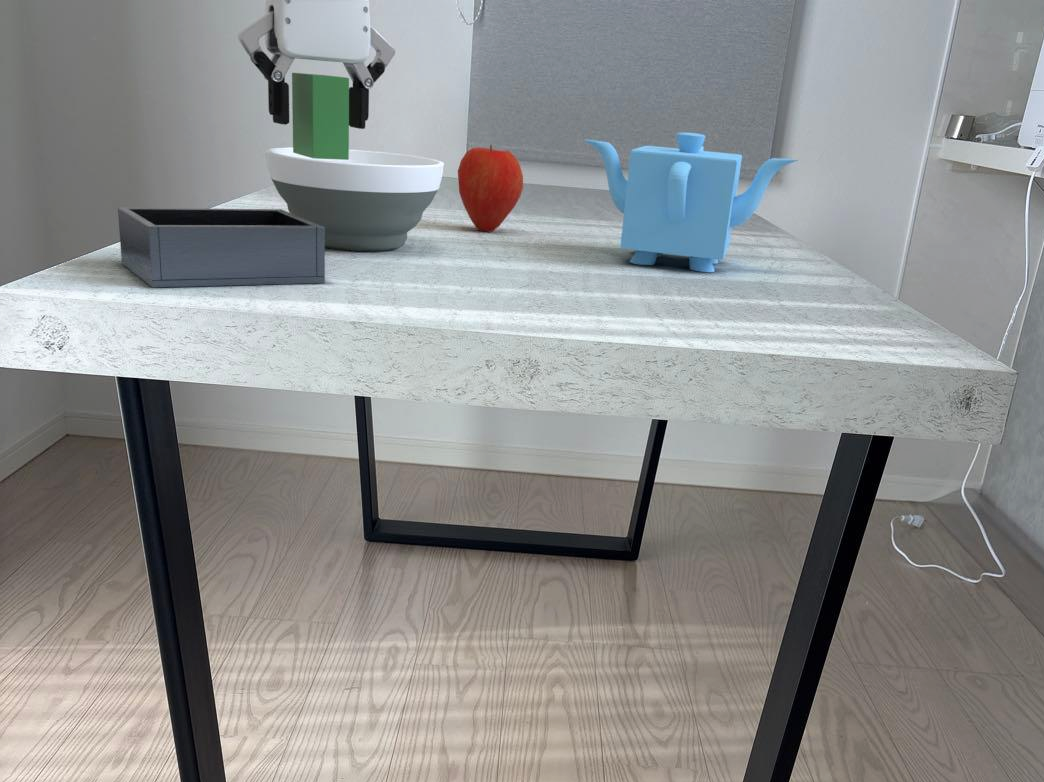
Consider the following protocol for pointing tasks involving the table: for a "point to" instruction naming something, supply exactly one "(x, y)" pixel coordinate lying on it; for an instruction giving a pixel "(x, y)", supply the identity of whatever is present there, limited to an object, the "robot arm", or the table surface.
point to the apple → (489, 186)
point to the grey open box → (221, 247)
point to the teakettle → (682, 199)
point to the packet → (320, 116)
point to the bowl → (357, 194)
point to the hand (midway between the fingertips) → (319, 124)
